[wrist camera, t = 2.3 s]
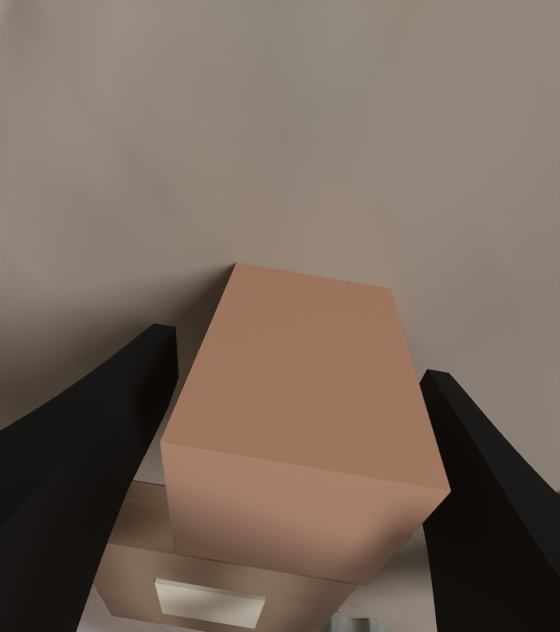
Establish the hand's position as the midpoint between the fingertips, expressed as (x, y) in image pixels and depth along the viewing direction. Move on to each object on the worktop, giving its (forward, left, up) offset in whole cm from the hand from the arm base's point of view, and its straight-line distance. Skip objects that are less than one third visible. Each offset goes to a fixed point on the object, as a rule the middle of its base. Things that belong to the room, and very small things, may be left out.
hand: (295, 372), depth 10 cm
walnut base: (+2, +19, -2) cm, 19 cm away
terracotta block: (0, 0, -2) cm, 2 cm away
